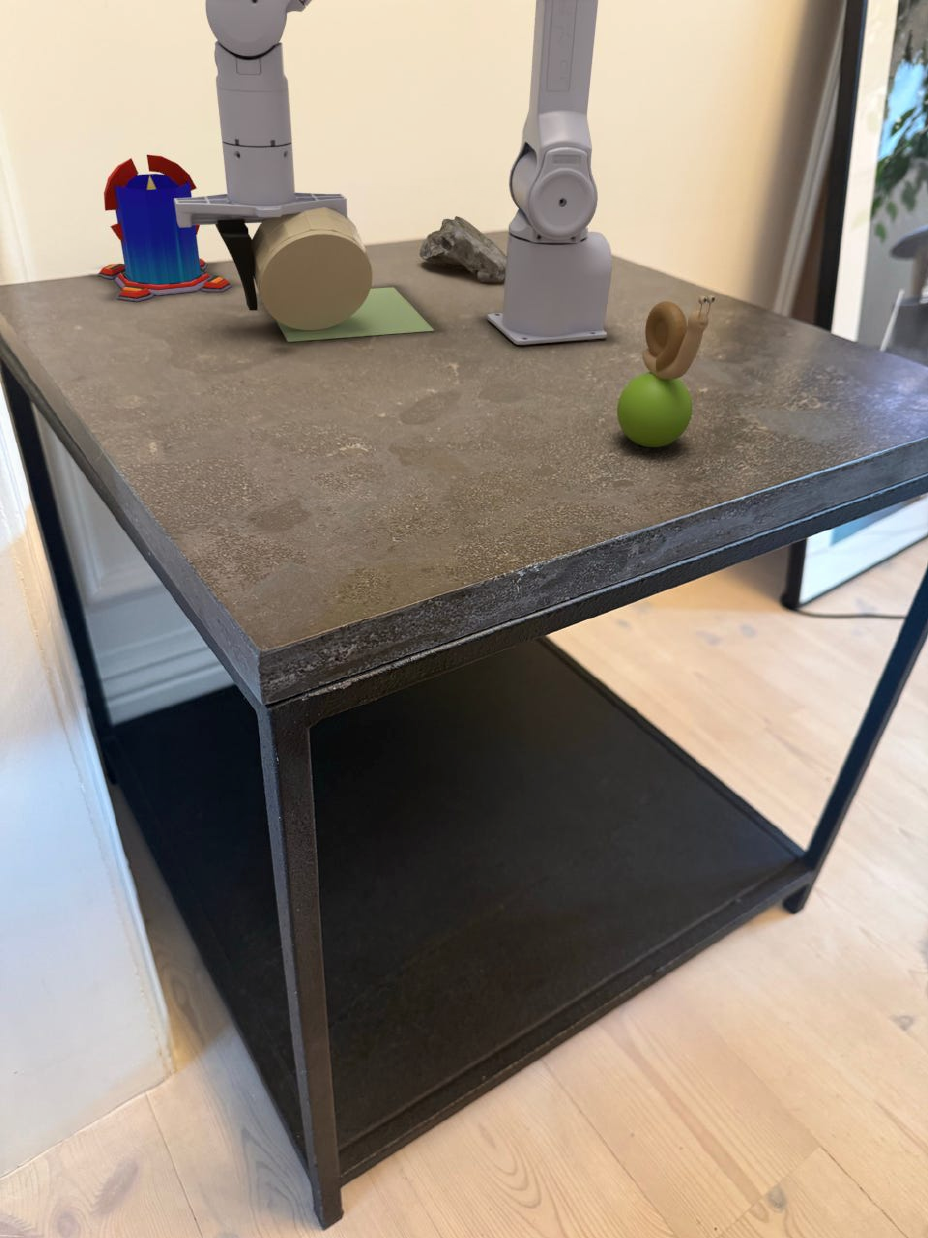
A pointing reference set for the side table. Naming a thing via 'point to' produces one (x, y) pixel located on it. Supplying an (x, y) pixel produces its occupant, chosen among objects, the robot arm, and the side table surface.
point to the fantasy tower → (154, 233)
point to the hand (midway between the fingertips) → (270, 305)
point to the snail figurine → (663, 376)
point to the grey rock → (465, 250)
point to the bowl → (311, 268)
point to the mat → (369, 319)
